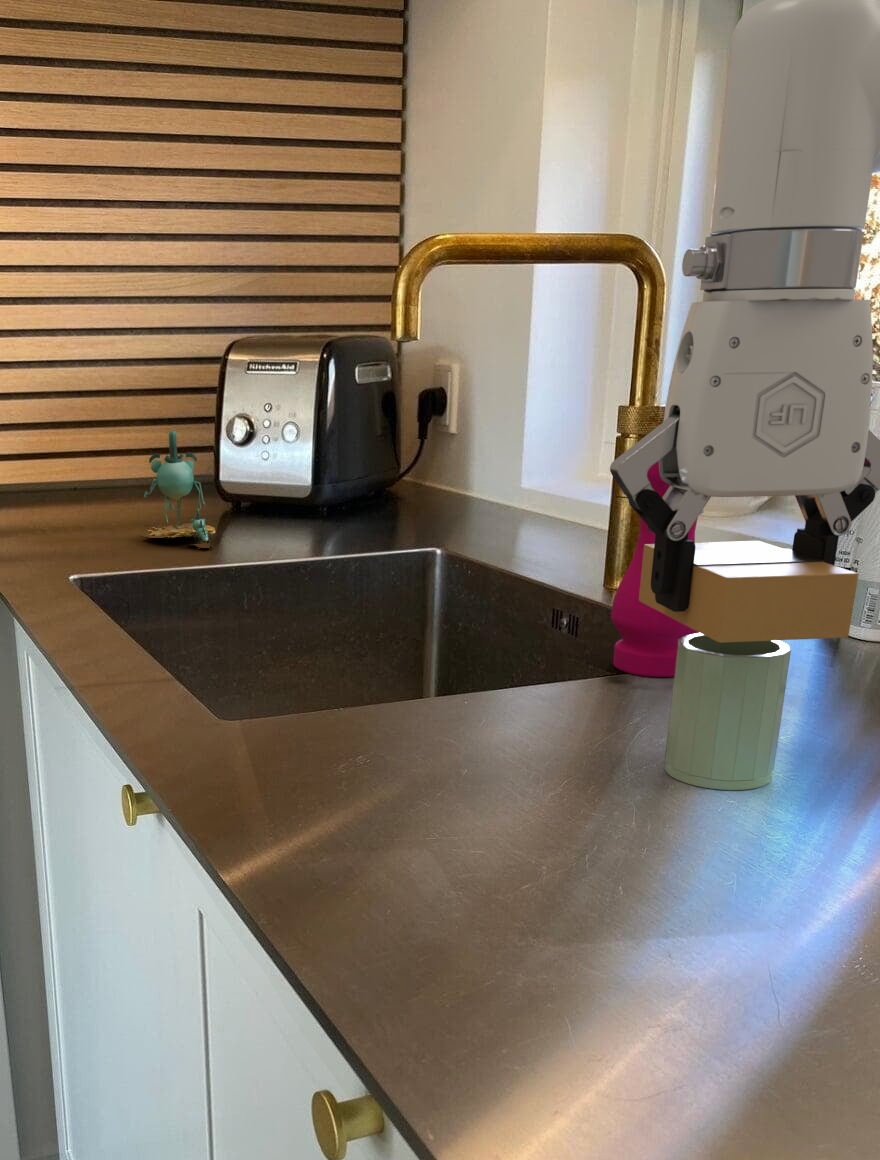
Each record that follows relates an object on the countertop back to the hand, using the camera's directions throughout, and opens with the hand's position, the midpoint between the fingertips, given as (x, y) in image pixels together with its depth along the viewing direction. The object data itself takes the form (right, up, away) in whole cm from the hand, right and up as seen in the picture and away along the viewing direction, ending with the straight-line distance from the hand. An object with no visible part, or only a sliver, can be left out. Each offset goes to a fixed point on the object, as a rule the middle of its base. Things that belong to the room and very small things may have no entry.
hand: (738, 602), depth 70 cm
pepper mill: (+3, -1, +27) cm, 27 cm away
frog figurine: (-40, +22, +88) cm, 99 cm away
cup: (0, -10, +4) cm, 10 cm away
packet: (0, -1, 0) cm, 1 cm away
